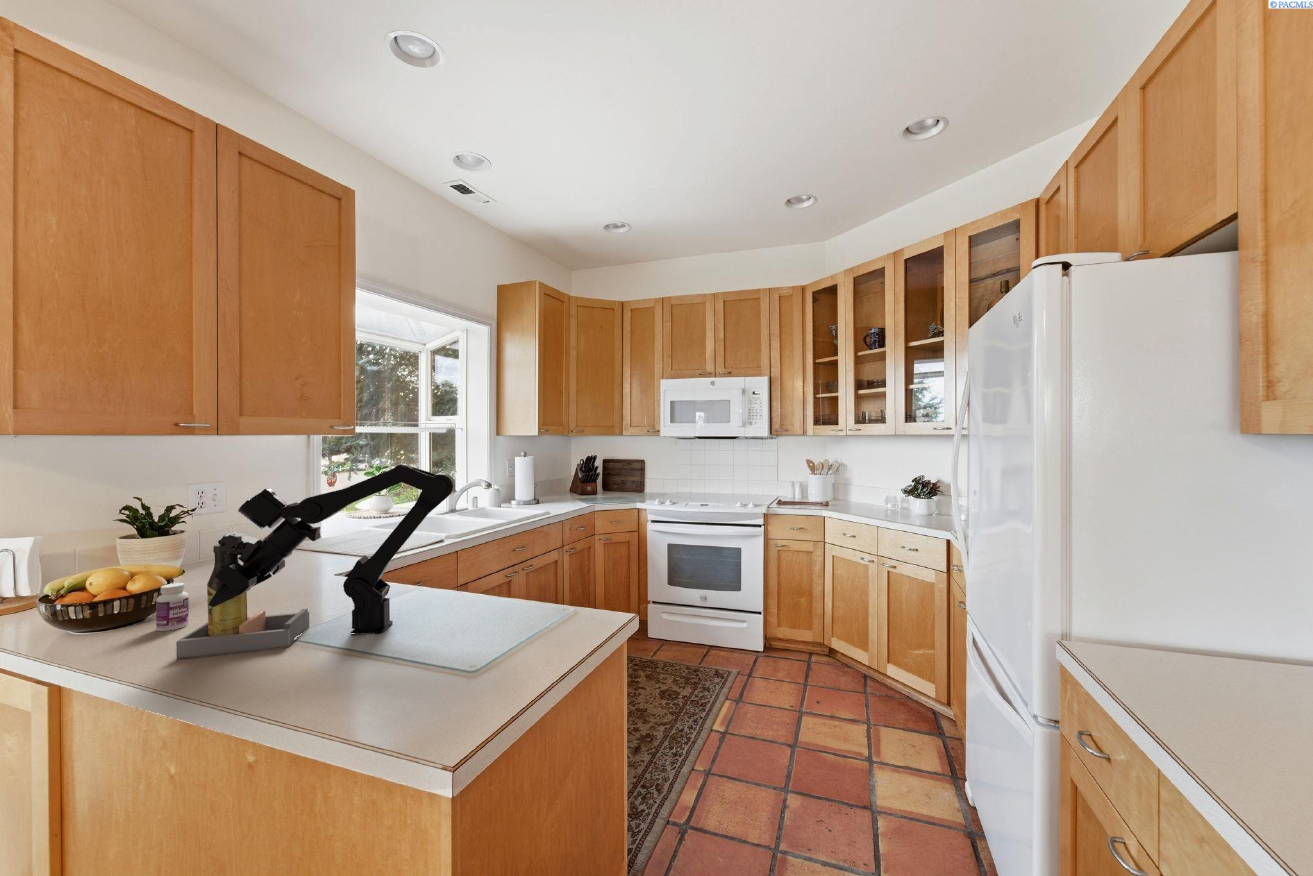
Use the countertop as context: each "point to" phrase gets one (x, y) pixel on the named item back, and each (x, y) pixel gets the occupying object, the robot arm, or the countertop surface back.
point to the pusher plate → (254, 623)
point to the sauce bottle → (227, 613)
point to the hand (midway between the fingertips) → (219, 600)
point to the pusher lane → (245, 637)
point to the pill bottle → (172, 607)
